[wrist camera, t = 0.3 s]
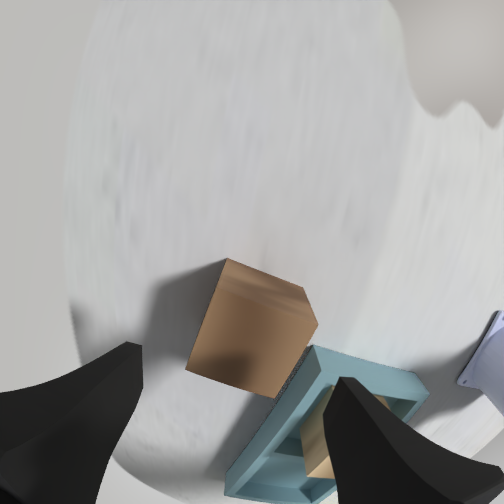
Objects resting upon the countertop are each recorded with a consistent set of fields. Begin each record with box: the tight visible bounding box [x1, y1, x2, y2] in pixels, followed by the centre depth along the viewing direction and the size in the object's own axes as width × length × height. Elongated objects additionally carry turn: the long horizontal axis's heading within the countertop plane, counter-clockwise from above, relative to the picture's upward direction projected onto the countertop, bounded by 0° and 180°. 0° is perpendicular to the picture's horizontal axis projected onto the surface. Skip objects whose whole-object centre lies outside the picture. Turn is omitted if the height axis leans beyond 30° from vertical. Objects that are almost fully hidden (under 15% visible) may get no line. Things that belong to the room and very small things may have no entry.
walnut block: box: [185, 258, 318, 399], centre depth 16 cm, size 5×5×5 cm
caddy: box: [224, 345, 430, 504], centre depth 20 cm, size 10×18×3 cm, turn 158°
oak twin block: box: [299, 385, 391, 479], centre depth 17 cm, size 5×5×5 cm
